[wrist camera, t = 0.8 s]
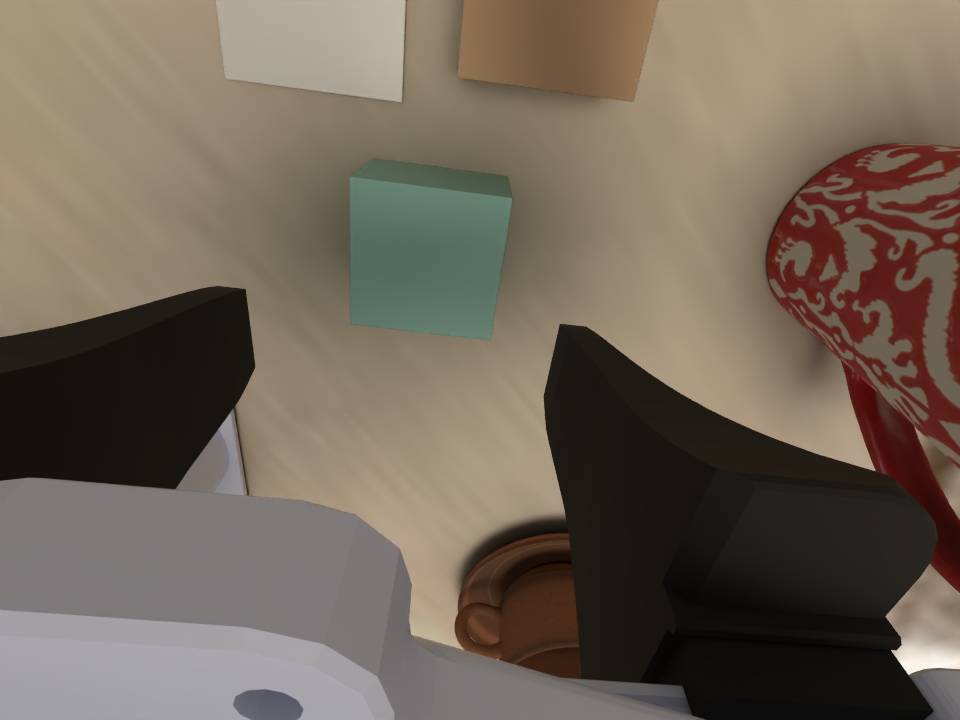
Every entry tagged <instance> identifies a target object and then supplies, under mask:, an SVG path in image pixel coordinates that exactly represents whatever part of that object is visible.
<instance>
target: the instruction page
mask: <svg viewBox="0 0 960 720" xmlns="http://www.w3.org/2000/svg"><path fill="white" fill-rule="evenodd" d="M216 6H217V14H218V22H219V31H220V39H221V47H222V55H223V64H224V72H225V79H232V80H239V81H247V82H254V83H262V84H269V85H277V86H284V87H291V88H299V89H306V90H314V91H321V92H329V93H336V94H343V95H351V96H358V97H366V98H373V99H381V100H388V101H395V102H403V78H404V51H405V23H406V0H216Z"/></svg>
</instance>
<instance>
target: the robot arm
mask: <svg viewBox="0 0 960 720" xmlns="http://www.w3.org/2000/svg"><path fill="white" fill-rule="evenodd" d="M254 369H255V360H254V352H253V344H252V336H251V328H250V320H249V312H248V304H247V297H246V289H239V288H230V287H221V286H215V287H207V288H202V289H198V290H194V291H190V292H186V293H182V294H178V295H175V296H171V297H168V298H164V299H161V300H158V301H154V302H151V303H147V304H144V305H140V306H137V307H133V308H130V309H126V310H122V311H119V312H115V313H111V314H107V315H103V316H100V317H96V318H92V319H88V320H84V321H80V322H76V323H72V324H68V325H63V326H59V327H54V328H49V329H44V330H39V331H34V332H28V333H23V334H18V335H12V336H6V337H0V720H960V670H959V669H945V668H932V669H924V670H920V671H917V672H914V673H911V674H910V675H908V674H907V672H906V671H905V670H904V668H903V667H902V665H901V664H900V663H899V661H898V660H897V658H896V657H895V656H894V654H893V653H892V651H891V650H897V649H898V648H899V647H900V646H901V645H902V644H901V637H900V636H899V635H898V633H897V632H896V631H895V629H894V628H893V626H892V625H891V624H890V622H889V621H888V620H887V618H886V617H885V616H886V615H887V614H888V613H889V611H890V610H891V609H892V608H893V607H894V606H895V605H896V604H897V602H898V601H899V600H900V599H901V598H902V597H903V596H904V595H905V593H906V592H907V591H908V590H909V589H910V588H911V587H912V585H913V584H914V583H915V582H916V581H917V580H918V579H919V578H920V576H921V575H922V574H923V572H924V571H925V569H926V568H927V566H928V565H929V563H930V562H931V560H932V558H933V554H934V551H935V547H936V543H937V540H938V535H937V530H936V524H935V521H934V520H933V519H932V517H931V516H930V515H929V514H928V512H927V511H926V510H925V509H924V507H923V506H921V505H920V504H919V503H918V502H917V501H916V500H915V499H914V498H913V497H912V496H911V495H910V494H909V493H908V492H907V491H906V490H905V489H904V488H903V487H902V486H901V485H900V484H899V483H898V482H897V481H896V480H895V479H894V478H892V477H891V476H889V475H886V474H882V473H879V472H876V471H872V470H869V469H865V468H862V467H859V466H855V465H852V464H849V463H845V462H842V461H838V460H835V459H832V458H828V457H825V456H821V455H818V454H815V453H812V452H810V451H807V450H804V449H801V448H799V447H796V446H793V445H790V444H787V443H785V442H782V441H779V440H776V439H774V438H771V437H769V436H766V435H764V434H762V433H759V432H757V431H754V430H752V429H750V428H747V427H745V426H743V425H741V424H739V423H736V422H734V421H732V420H730V419H727V418H725V417H723V416H721V415H719V414H717V413H715V412H713V411H711V410H709V409H707V408H705V407H703V406H702V405H700V404H698V403H696V402H694V401H693V400H691V399H689V398H687V397H685V396H684V395H682V394H680V393H679V392H677V391H675V390H674V389H672V388H670V387H669V386H667V385H666V384H664V383H663V382H661V381H660V380H658V379H657V378H655V377H654V376H652V375H651V374H649V373H648V372H647V371H645V370H644V369H642V368H641V367H640V366H638V365H637V364H636V363H634V362H633V361H632V360H630V359H629V358H628V357H626V356H625V355H624V354H622V353H621V352H620V351H619V350H617V349H616V348H615V347H614V346H612V345H611V344H610V343H608V342H607V341H606V340H605V339H603V338H602V337H601V336H599V335H598V334H597V333H595V332H594V331H592V330H591V329H589V328H587V327H584V326H575V325H566V324H560V326H559V330H558V335H557V339H556V344H555V348H554V353H553V357H552V362H551V366H550V371H549V375H548V379H547V384H546V388H545V393H544V408H545V421H546V431H547V435H548V440H549V444H550V449H551V453H552V458H553V462H554V466H555V470H556V474H557V479H558V483H559V487H560V491H561V496H562V500H563V504H564V509H565V514H566V520H567V526H568V534H569V543H570V551H571V560H572V570H573V580H574V590H575V601H576V612H577V625H578V638H579V651H580V666H581V679H572V678H559V677H556V676H552V675H549V674H545V673H542V672H538V671H535V670H531V669H528V668H525V667H521V666H518V665H514V664H511V663H507V662H504V661H500V660H497V659H493V658H490V657H486V656H483V655H479V654H476V653H472V652H469V651H466V650H462V649H459V648H455V647H452V646H448V645H445V644H441V643H438V642H434V641H431V640H427V639H424V638H420V637H417V636H413V635H411V631H410V624H409V613H410V601H411V588H412V584H411V581H410V578H409V575H408V572H407V569H406V566H405V563H404V560H403V557H402V554H401V551H400V548H398V547H397V546H396V545H394V544H393V543H392V542H391V541H389V540H388V539H387V538H385V537H384V536H383V535H382V534H380V533H379V532H378V531H376V530H375V529H374V528H372V527H371V526H370V525H369V524H367V523H366V522H365V521H363V520H362V519H361V518H360V517H358V516H357V515H355V514H352V513H348V512H344V511H341V510H337V509H333V508H329V507H326V506H322V505H318V504H315V503H311V502H307V501H303V500H291V499H280V498H268V497H257V496H247V490H246V483H245V477H244V471H243V465H242V459H241V452H240V446H239V440H238V434H237V428H236V421H235V415H234V409H233V408H234V407H235V405H236V404H237V402H238V401H239V399H240V397H241V396H242V394H243V392H244V390H245V388H246V386H247V384H248V382H249V380H250V377H251V375H252V373H253V371H254Z"/></svg>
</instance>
